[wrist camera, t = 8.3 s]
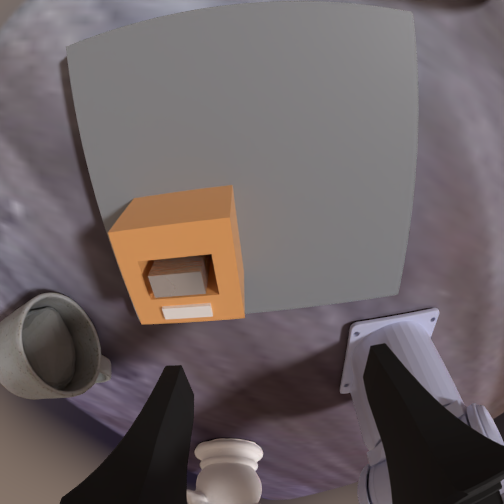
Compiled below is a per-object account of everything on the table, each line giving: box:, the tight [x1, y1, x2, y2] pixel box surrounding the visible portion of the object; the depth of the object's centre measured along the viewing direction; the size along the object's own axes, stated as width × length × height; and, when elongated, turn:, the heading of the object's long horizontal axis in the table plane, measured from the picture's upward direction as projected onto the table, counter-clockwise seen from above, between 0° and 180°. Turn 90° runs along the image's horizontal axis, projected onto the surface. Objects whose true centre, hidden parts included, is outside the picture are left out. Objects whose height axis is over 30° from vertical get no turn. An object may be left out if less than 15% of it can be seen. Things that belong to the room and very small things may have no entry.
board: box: [66, 1, 418, 321], centre depth 16 cm, size 18×18×1 cm
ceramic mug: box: [0, 292, 111, 399], centre depth 20 cm, size 11×8×8 cm
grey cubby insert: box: [148, 254, 211, 298], centre depth 16 cm, size 1×2×4 cm, turn 95°
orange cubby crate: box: [108, 185, 245, 324], centre depth 16 cm, size 5×5×4 cm
